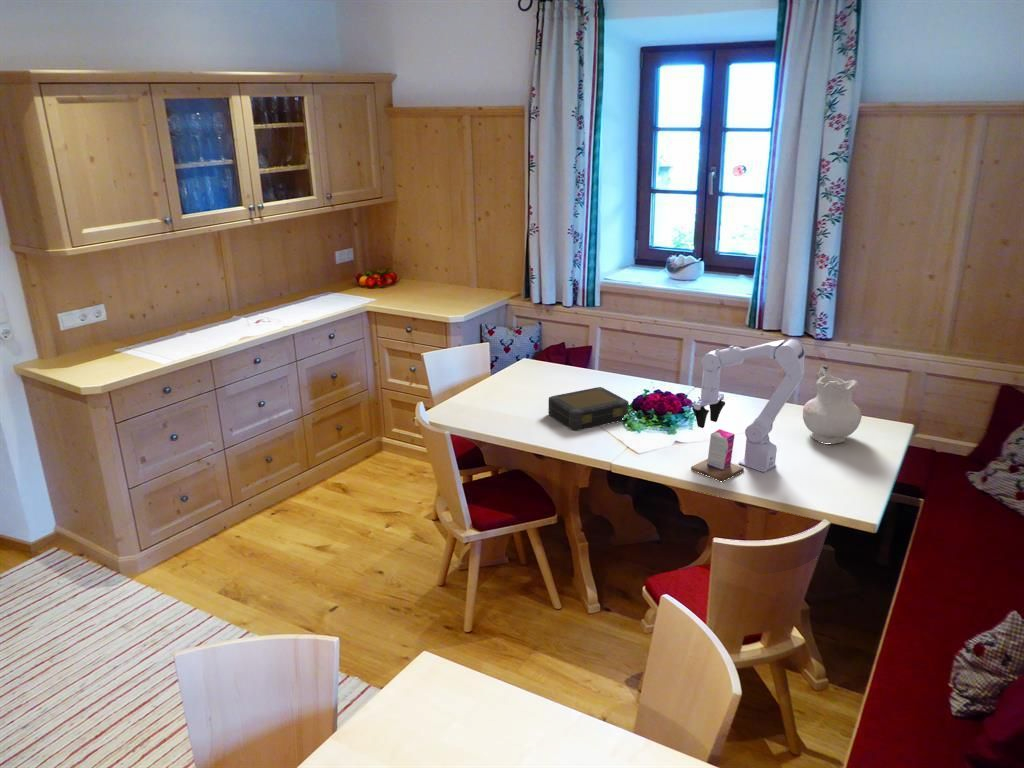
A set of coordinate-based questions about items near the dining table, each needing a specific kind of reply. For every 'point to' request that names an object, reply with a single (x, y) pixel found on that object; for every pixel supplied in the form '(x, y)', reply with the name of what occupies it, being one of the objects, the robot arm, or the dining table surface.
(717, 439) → the supplement box
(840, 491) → the dining table surface
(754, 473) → the dining table surface
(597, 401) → the cash box
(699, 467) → the cardboard square
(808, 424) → the ceramic pitcher
